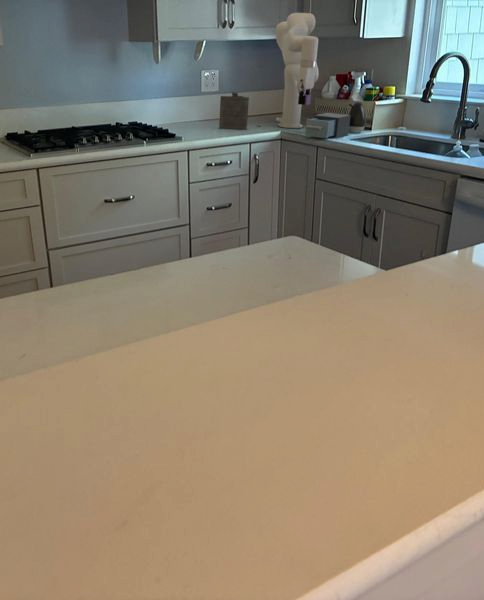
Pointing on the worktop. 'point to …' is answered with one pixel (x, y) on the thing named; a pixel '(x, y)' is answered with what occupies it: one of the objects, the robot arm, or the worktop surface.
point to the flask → (233, 112)
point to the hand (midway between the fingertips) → (304, 103)
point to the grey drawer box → (338, 123)
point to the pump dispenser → (357, 117)
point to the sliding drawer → (320, 127)
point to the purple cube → (306, 99)
